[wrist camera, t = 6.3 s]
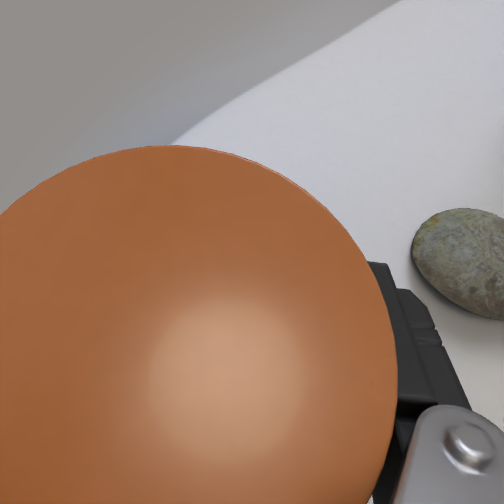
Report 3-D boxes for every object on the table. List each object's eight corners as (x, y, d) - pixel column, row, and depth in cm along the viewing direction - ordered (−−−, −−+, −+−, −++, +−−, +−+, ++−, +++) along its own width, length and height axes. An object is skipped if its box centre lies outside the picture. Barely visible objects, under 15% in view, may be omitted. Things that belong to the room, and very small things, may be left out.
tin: (156, 452, 16) (-63, 715, 5) (128, 298, 18) (-100, 194, 6) (308, 412, 17) (465, 558, 5) (270, 264, 18) (325, 105, 6)
